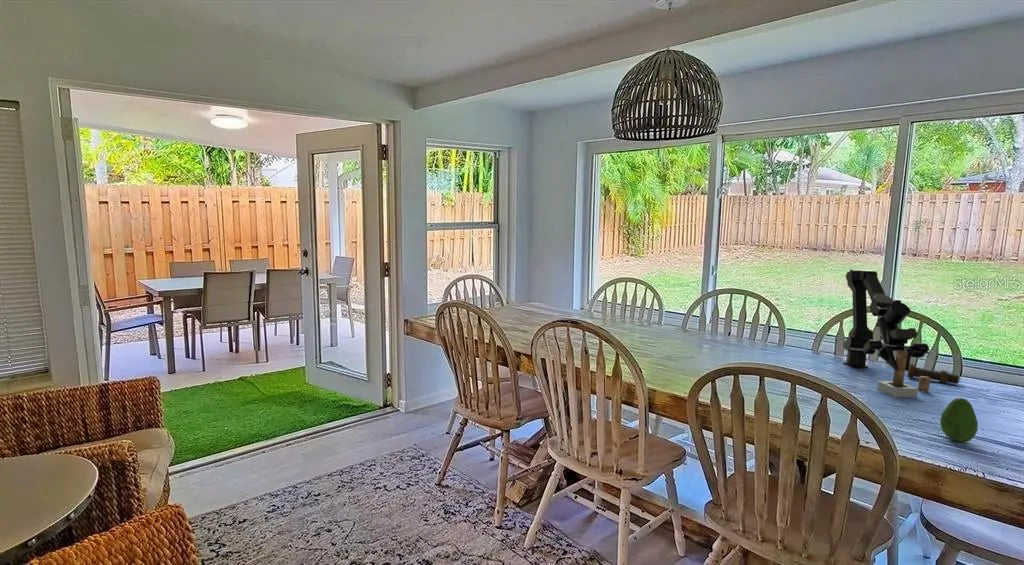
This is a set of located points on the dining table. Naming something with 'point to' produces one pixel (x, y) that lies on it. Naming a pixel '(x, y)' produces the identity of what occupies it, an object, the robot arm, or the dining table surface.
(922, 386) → the short dowel
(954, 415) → the avocado
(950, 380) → the bolt
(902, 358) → the long dowel
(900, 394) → the hole block
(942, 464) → the dining table surface
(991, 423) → the dining table surface
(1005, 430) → the dining table surface
